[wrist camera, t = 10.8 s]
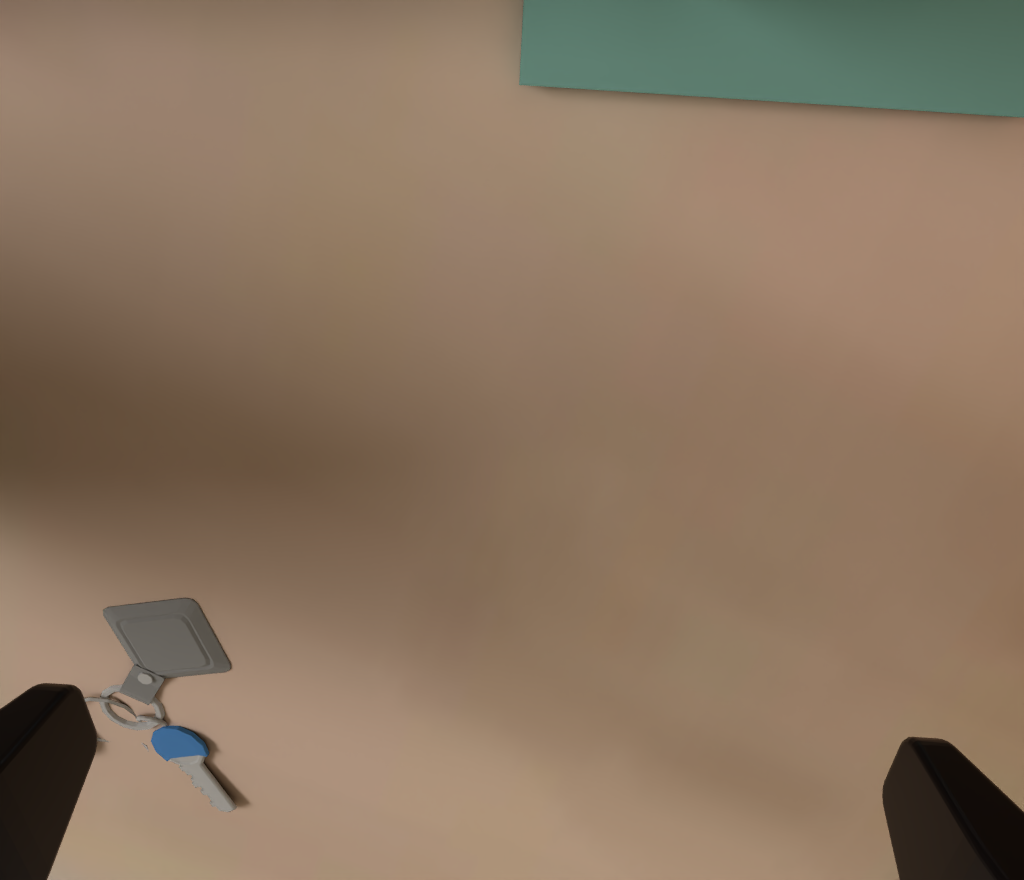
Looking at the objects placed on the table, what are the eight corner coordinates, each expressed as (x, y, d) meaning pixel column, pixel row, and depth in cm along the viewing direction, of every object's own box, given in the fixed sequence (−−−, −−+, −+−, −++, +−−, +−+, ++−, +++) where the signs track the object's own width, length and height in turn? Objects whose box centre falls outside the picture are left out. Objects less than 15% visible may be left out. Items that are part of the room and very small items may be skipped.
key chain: (145, 558, 24) (132, 575, 23) (362, 690, 26) (356, 710, 26) (-22, 762, 30) (-37, 781, 29) (168, 854, 32) (159, 874, 32)
